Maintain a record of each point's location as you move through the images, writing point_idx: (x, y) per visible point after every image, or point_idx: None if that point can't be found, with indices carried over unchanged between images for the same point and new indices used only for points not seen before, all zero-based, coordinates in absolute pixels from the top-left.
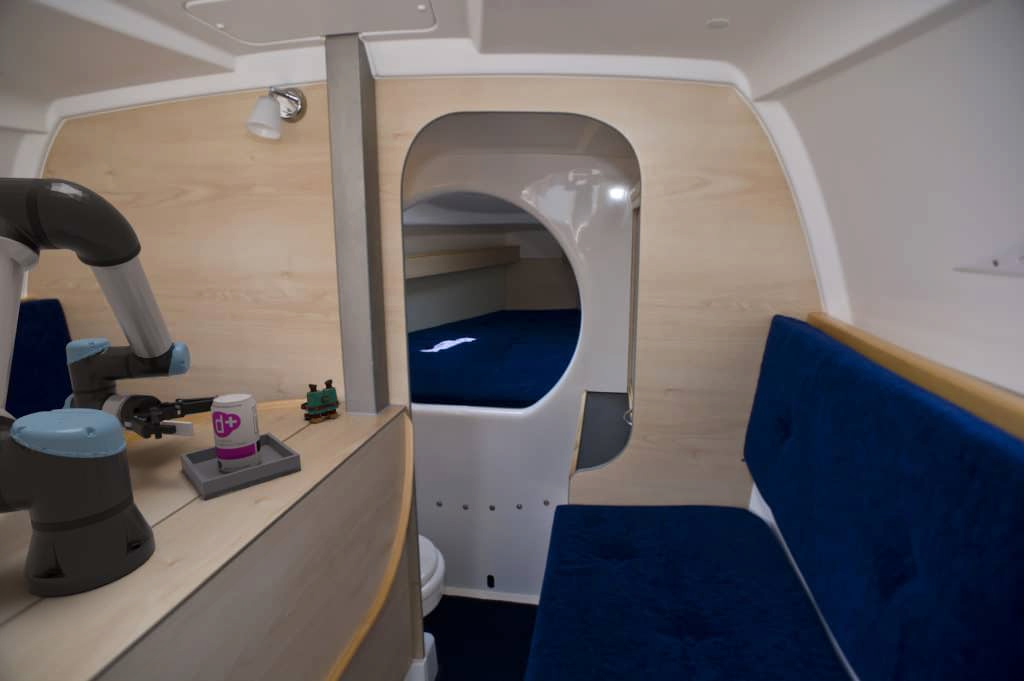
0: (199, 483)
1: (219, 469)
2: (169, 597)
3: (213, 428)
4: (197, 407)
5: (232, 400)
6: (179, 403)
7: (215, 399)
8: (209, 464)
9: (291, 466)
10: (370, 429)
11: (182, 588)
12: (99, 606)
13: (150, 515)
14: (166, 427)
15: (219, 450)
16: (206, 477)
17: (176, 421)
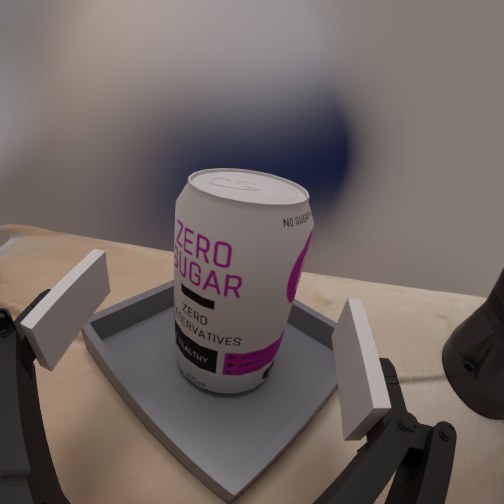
0: None
1: (247, 392)
2: (455, 298)
3: (281, 302)
4: (32, 422)
5: (272, 185)
6: (34, 494)
7: (263, 209)
8: (216, 431)
9: None
10: (71, 238)
11: (447, 296)
12: None
13: (417, 406)
14: (396, 374)
15: (281, 336)
16: (292, 397)
17: (365, 349)
